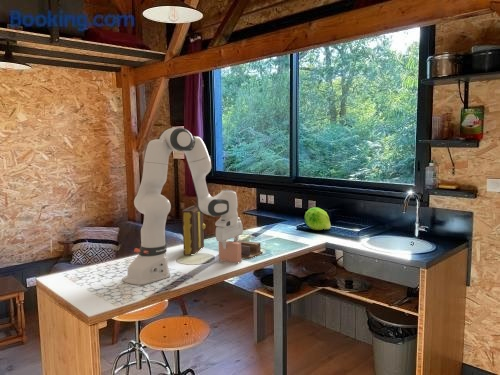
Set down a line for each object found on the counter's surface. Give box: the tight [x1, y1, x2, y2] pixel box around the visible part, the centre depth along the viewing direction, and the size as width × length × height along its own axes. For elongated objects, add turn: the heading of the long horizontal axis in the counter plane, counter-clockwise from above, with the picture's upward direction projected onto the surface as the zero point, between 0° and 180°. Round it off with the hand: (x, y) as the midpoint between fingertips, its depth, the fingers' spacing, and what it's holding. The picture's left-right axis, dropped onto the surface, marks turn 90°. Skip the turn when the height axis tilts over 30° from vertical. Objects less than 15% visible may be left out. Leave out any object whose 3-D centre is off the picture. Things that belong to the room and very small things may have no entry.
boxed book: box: [218, 240, 242, 264], centre depth 217 cm, size 4×12×10 cm, turn 58°
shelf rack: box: [237, 239, 264, 259], centre depth 229 cm, size 12×16×6 cm
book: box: [182, 205, 206, 256], centre depth 238 cm, size 22×8×25 cm, turn 168°
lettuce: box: [304, 207, 332, 231], centre depth 290 cm, size 17×20×16 cm
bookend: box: [241, 245, 250, 256], centre depth 225 cm, size 1×12×5 cm, turn 58°
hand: (230, 246), depth 217 cm, fingers open, 8 cm apart
